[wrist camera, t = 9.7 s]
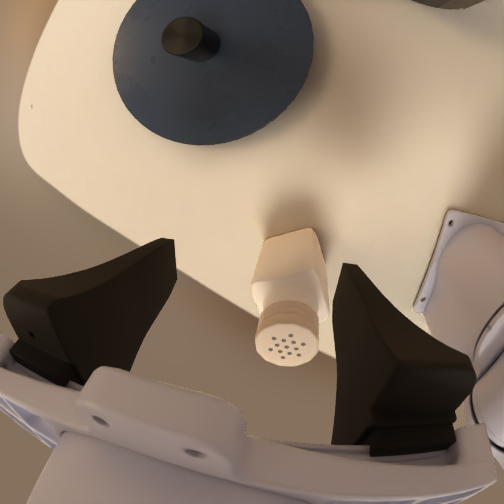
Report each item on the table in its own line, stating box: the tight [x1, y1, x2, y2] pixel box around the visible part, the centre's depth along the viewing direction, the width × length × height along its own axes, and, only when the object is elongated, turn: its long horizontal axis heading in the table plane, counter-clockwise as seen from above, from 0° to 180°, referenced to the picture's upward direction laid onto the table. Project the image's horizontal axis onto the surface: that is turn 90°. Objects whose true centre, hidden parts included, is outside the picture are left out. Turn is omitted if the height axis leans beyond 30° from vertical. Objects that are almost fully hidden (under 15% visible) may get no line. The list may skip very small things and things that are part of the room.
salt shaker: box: [251, 228, 330, 366], centre depth 18 cm, size 4×4×10 cm
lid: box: [113, 0, 313, 145], centre depth 14 cm, size 14×14×5 cm
